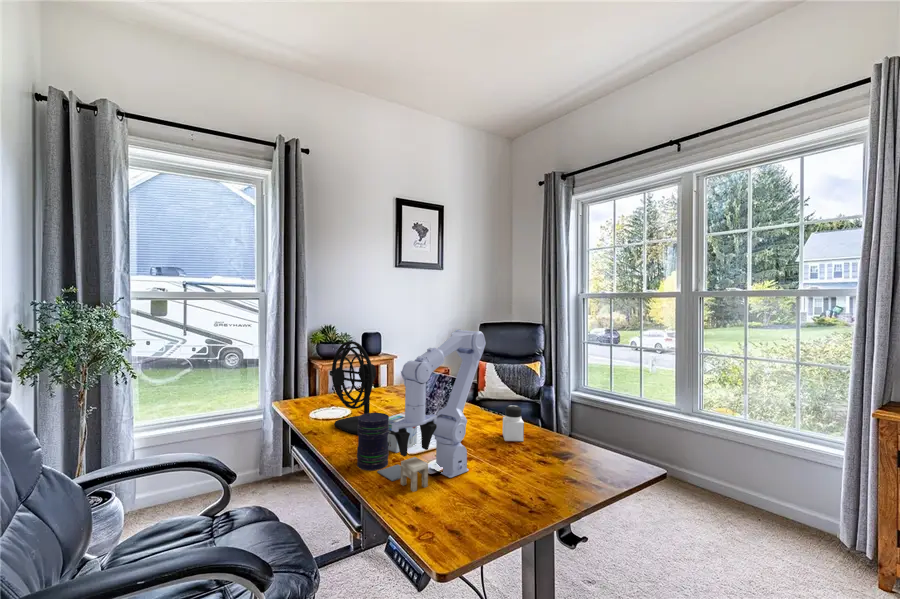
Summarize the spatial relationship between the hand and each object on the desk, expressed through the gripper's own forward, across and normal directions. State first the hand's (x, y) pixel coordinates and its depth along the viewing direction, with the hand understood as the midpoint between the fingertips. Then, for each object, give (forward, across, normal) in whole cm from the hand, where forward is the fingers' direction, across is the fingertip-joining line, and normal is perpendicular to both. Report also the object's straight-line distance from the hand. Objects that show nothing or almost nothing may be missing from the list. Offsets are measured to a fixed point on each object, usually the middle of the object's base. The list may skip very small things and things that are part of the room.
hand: (414, 452), depth 115 cm
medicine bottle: (+10, -53, -7) cm, 54 cm away
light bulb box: (+10, -15, -27) cm, 32 cm away
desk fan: (+10, -14, -56) cm, 58 cm away
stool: (+9, 0, 0) cm, 9 cm away
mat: (+9, -1, -10) cm, 14 cm away
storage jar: (+10, +1, -20) cm, 22 cm away
